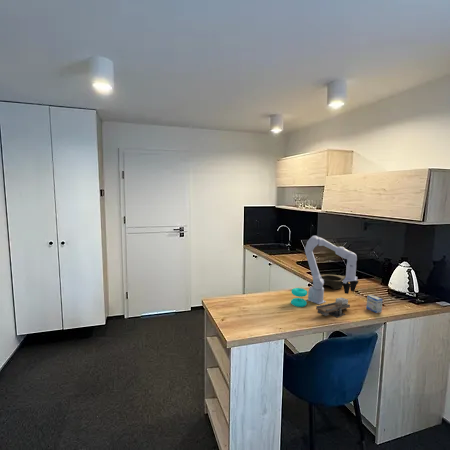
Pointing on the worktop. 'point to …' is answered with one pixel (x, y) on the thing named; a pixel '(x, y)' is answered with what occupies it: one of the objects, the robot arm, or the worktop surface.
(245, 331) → the worktop surface
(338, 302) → the block
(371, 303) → the medicine box
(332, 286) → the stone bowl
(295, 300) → the donuts
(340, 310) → the pivot stand
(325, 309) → the beam
